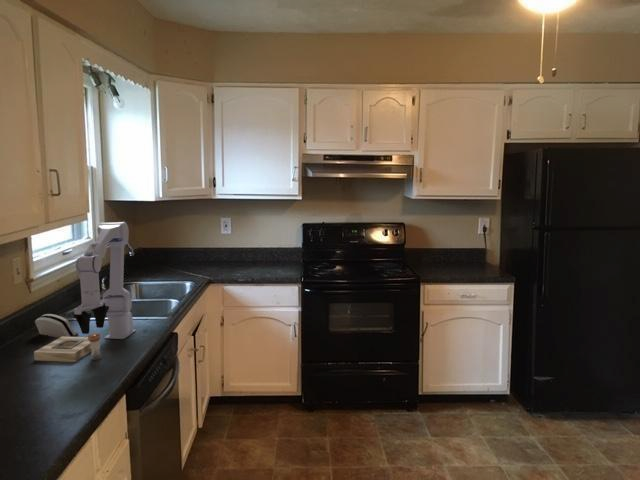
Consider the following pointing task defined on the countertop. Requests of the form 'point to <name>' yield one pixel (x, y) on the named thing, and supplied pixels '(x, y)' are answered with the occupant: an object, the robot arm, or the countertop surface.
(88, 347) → the block
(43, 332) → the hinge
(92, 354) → the pin
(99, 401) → the countertop surface
